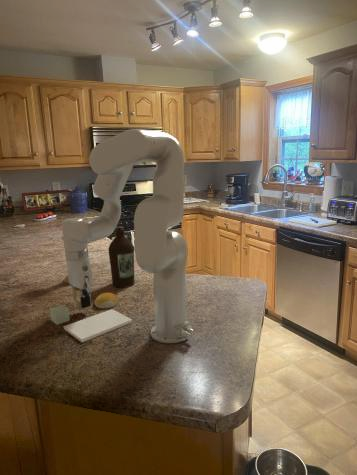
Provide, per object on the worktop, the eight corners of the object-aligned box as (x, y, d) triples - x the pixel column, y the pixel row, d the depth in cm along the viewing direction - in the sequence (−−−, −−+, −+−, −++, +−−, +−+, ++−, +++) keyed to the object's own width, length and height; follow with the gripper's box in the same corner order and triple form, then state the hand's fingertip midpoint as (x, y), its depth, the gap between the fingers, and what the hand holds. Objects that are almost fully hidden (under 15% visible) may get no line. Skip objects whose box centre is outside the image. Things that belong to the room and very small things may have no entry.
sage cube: (69, 320, 118) (68, 308, 117) (56, 325, 115) (55, 312, 114) (63, 316, 121) (62, 304, 120) (51, 320, 118) (49, 308, 117)
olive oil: (107, 283, 153) (102, 227, 148) (129, 278, 159) (125, 223, 153) (117, 290, 144) (112, 230, 139) (140, 284, 150) (136, 227, 145)
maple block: (91, 306, 123) (89, 287, 121) (80, 310, 120) (77, 291, 118) (85, 303, 126) (83, 284, 124) (74, 307, 123) (71, 288, 121)
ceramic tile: (132, 322, 115) (131, 319, 115) (82, 342, 103) (81, 339, 103) (112, 311, 124) (112, 309, 124) (63, 329, 112) (63, 326, 112)
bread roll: (116, 298, 136) (115, 288, 135) (117, 307, 128) (117, 297, 127) (94, 300, 135) (93, 291, 134) (94, 310, 126) (93, 299, 125)
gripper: (99, 256, 115) (104, 308, 119) (75, 249, 127) (81, 296, 131) (78, 261, 110) (84, 315, 114) (55, 253, 122) (62, 302, 126)
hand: (82, 304), depth 122 cm, fingers closed on maple block, 4 cm apart
